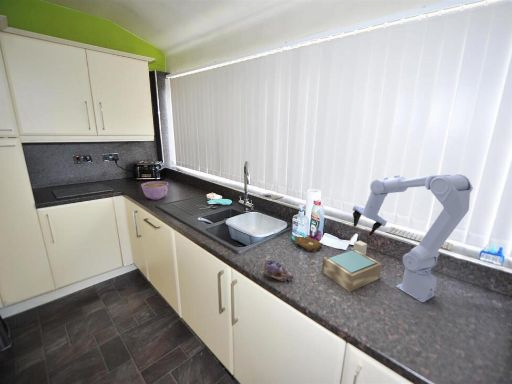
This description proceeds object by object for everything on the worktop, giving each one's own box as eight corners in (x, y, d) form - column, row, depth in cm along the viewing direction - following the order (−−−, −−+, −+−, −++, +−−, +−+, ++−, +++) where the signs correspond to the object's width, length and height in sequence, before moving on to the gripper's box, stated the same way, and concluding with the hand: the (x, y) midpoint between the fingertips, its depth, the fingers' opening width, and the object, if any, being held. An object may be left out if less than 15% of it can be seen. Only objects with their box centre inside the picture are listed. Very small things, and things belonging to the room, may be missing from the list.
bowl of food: (174, 198, 189) (173, 184, 186) (149, 203, 175) (147, 188, 172) (162, 193, 202) (161, 180, 199) (138, 197, 188) (136, 183, 185)
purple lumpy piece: (296, 278, 94) (297, 264, 92) (287, 288, 87) (288, 274, 86) (269, 267, 100) (270, 254, 98) (259, 276, 94) (260, 263, 92)
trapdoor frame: (321, 271, 98) (323, 257, 96) (350, 261, 106) (352, 247, 104) (349, 291, 86) (352, 276, 84) (379, 278, 94) (382, 263, 93)
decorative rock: (286, 244, 122) (311, 256, 111) (287, 237, 120) (312, 249, 110) (300, 236, 129) (325, 247, 119) (301, 229, 128) (325, 240, 117)
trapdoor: (328, 260, 96) (328, 258, 96) (351, 252, 103) (352, 250, 103) (350, 274, 87) (351, 272, 87) (375, 265, 94) (375, 262, 93)
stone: (365, 254, 112) (367, 244, 111) (359, 256, 110) (361, 246, 109) (358, 250, 116) (359, 240, 114) (352, 252, 114) (354, 242, 112)
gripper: (394, 210, 100) (381, 235, 107) (361, 195, 109) (352, 219, 116) (387, 216, 96) (375, 241, 102) (354, 199, 105) (345, 224, 111)
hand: (362, 230), depth 109 cm, fingers open, 7 cm apart
